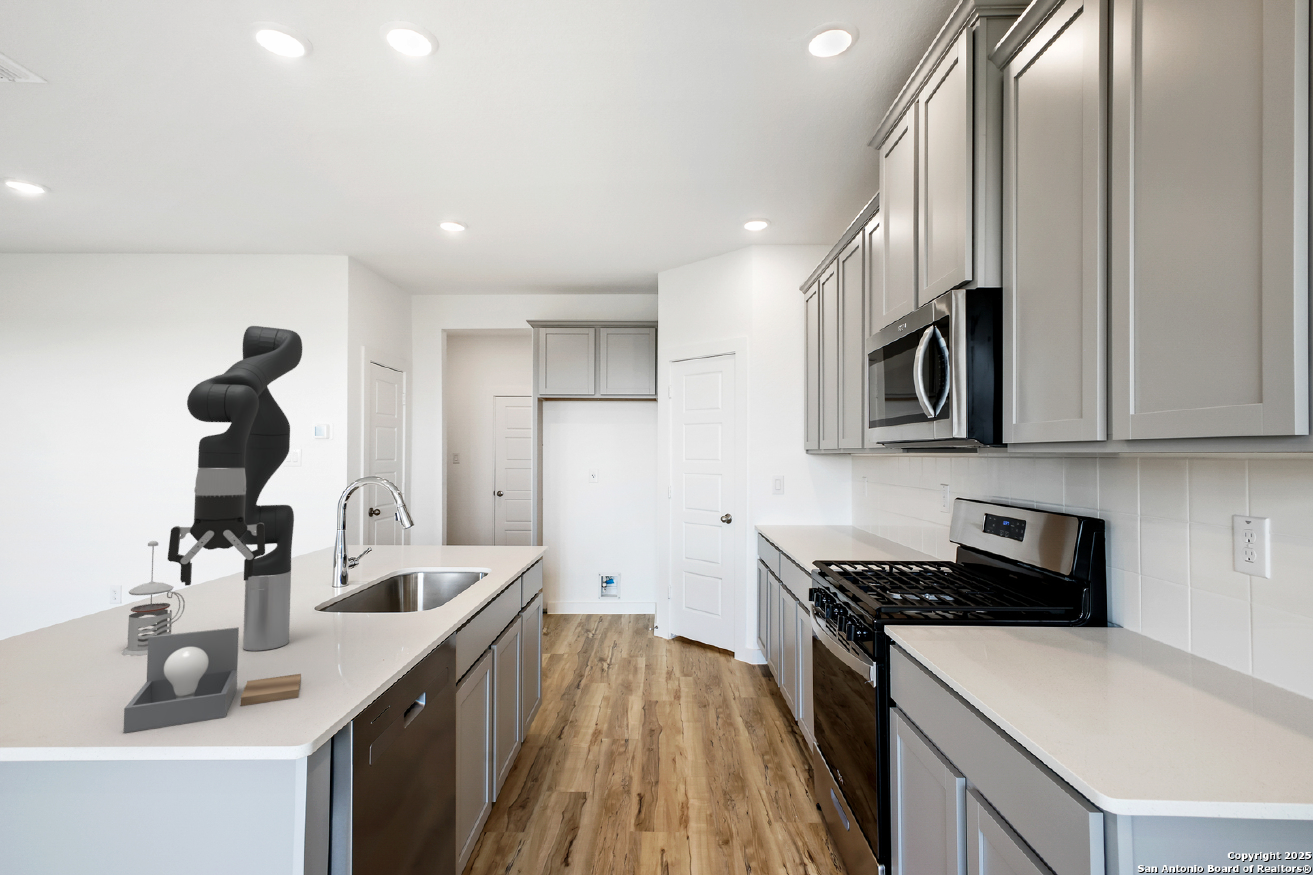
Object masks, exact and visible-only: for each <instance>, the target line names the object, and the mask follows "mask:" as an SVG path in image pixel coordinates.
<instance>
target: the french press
mask: <svg viewBox="0 0 1313 875" xmlns="http://www.w3.org/2000/svg"><path fill="white" fill-rule="evenodd" d="M157 546H159V542H158V541H157V540H151V541H149V542H148V543H147V547H152V552H151V553H152V556H151V558H152V559H151V581H150V582H147V583H142V584H139V585H137V586H135V587H132V589H130V590H129V591H128V594H129V595H131V596H150V603H148V604H147V603H146V604H141V605H136V606H134V607H131V608H130V612H132V614H131V613H130V614H129V615H128V624H127V625H128V626H127V627H128V628H127V647H126V648H124V649H123V650H122V651H123V652H121V655H123V656H126V655H140V656H145V655H147V656H148V637H149V636H157V635H167V634H172V625H173V623H174V624H175V622H177V621H179V619H180V618H181V617H182V615H183V613H184V610H185V607H186V604H185V603H186V602H185V600H184V599H185V598H184V597H183V595H182V594H181V593H179V592H176V591H172V590H174V586H173V585H170V584H168V583H164V582H156V581H154V580H153V578H154V576H153V575H154V573H153V572H154V552H155V551H154V547H157ZM164 593H166V597H167V599H172V598H173V595H175V596H176V597H177V599H178V600H177V601H178V609H177V611H176V614H175V615H174V616H173V615H172V614H173V610H172V609H170V610H168V608H170V607H171V603H169V602H155V603H153V600H152V599H153V595H159V594H164ZM169 593H171V595H170V596H169ZM180 598H181V599H182V602H183V606H182V611H181V613H180V615H179V616H178V614H179V612H180V610H181V600H180ZM144 616H145V617H144ZM146 616H147V617H146ZM172 616H173V617H172ZM177 616H178V617H177ZM176 617H177V618H176ZM175 618H176V619H175ZM168 619H169V620H168ZM174 619H175V620H174ZM148 627H151V628H148ZM141 628H142V629H141ZM151 632H153V633H151ZM140 634H141V635H140Z"/></svg>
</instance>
